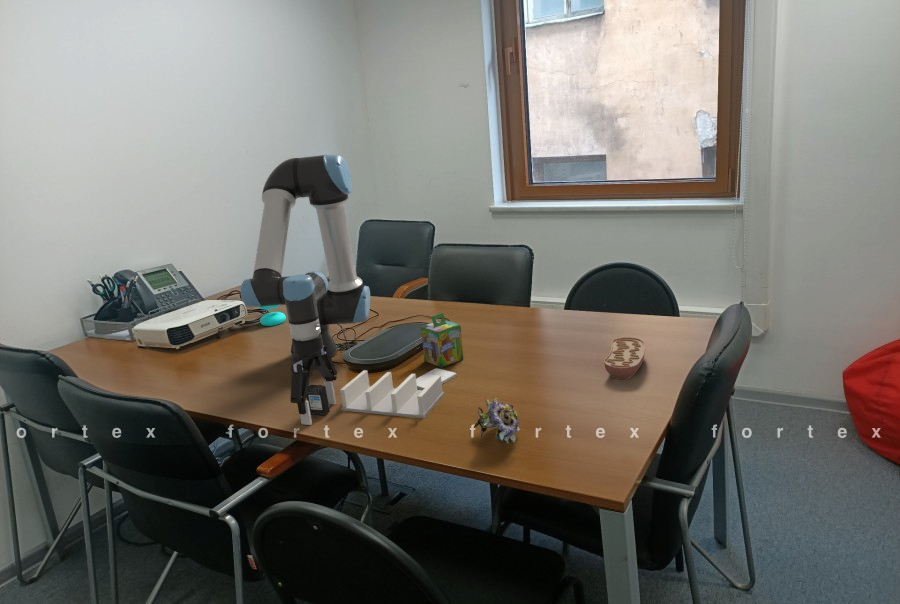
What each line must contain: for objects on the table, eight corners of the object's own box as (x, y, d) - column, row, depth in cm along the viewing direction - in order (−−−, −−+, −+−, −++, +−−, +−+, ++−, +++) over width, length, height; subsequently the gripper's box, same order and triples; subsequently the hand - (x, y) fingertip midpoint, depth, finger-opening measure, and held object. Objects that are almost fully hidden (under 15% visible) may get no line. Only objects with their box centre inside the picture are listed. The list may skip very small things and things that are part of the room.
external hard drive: (407, 388, 180) (435, 372, 189) (428, 394, 175) (456, 377, 184) (406, 383, 180) (435, 367, 189) (428, 388, 174) (456, 372, 183)
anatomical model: (613, 352, 191) (613, 336, 189) (648, 353, 187) (648, 338, 185) (602, 383, 170) (601, 366, 169) (640, 386, 167) (640, 368, 165)
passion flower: (513, 462, 147) (511, 440, 137) (468, 450, 150) (463, 428, 140) (525, 419, 153) (524, 395, 143) (481, 409, 156) (478, 385, 146)
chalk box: (441, 368, 190) (437, 322, 186) (423, 361, 197) (418, 316, 193) (464, 359, 195) (460, 313, 191) (446, 352, 202) (441, 308, 198)
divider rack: (366, 388, 181) (363, 369, 180) (444, 394, 172) (442, 375, 171) (341, 410, 169) (338, 390, 167) (424, 418, 160) (421, 397, 158)
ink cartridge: (309, 415, 168) (304, 388, 166) (313, 411, 170) (308, 384, 168) (326, 416, 166) (320, 388, 164) (330, 412, 168) (325, 384, 166)
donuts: (262, 303, 241) (252, 299, 249) (267, 328, 244) (256, 323, 252) (286, 297, 247) (275, 293, 255) (290, 321, 250) (279, 317, 258)
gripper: (292, 353, 150) (306, 436, 156) (342, 321, 171) (353, 395, 177) (265, 352, 153) (281, 433, 159) (319, 320, 174) (330, 393, 180)
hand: (319, 413), depth 168 cm, fingers open, 11 cm apart
